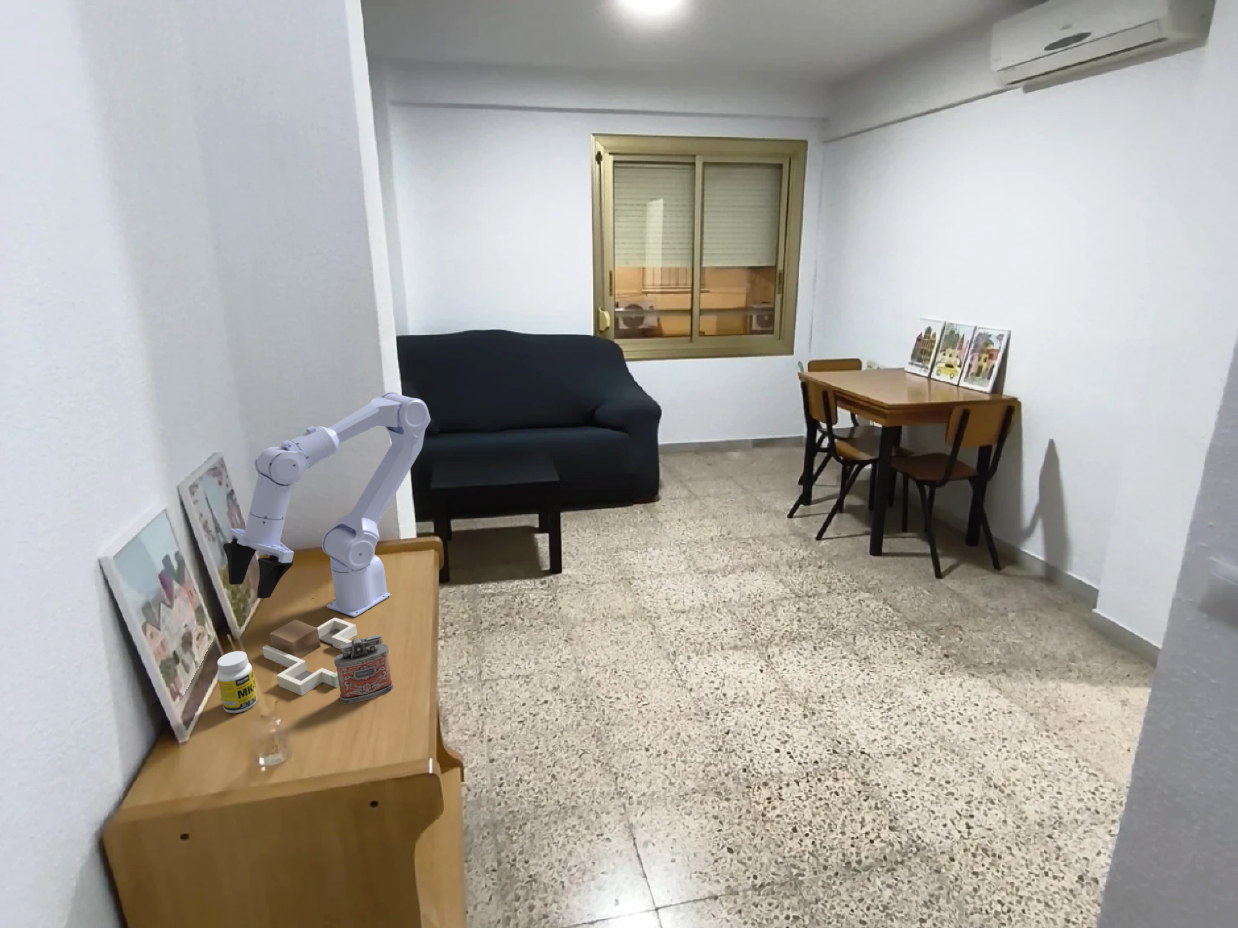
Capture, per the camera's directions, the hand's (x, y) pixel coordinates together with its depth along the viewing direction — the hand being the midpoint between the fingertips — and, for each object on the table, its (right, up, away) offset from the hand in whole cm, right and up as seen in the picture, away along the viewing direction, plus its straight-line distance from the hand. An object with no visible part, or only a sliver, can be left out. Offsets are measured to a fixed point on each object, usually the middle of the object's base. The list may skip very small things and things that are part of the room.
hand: (249, 590), depth 117 cm
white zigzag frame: (+13, -12, -1) cm, 17 cm away
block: (+7, -11, +2) cm, 13 cm away
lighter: (+24, -15, -9) cm, 30 cm away
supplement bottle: (+5, -16, -12) cm, 20 cm away
